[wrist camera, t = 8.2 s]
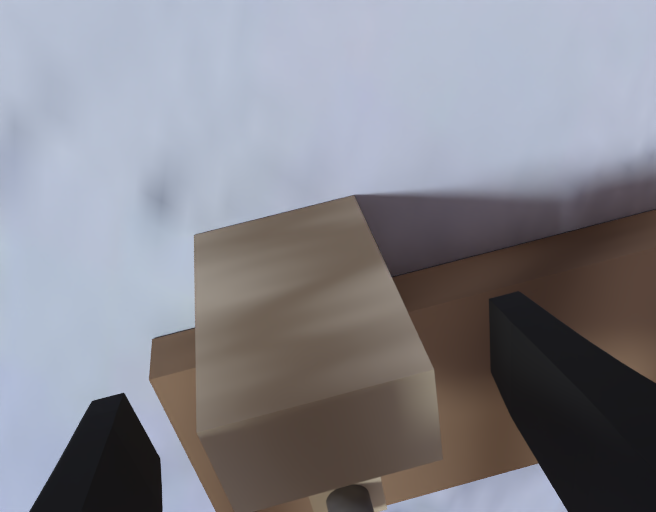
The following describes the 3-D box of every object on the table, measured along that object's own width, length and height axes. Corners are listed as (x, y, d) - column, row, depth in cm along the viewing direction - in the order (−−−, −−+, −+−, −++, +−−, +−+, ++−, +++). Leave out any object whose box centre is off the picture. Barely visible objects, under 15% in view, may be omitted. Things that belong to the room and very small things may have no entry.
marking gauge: (354, 195, 15) (434, 369, 10) (391, 416, 20) (457, 603, 15) (194, 234, 15) (196, 432, 10) (272, 448, 20) (300, 648, 15)
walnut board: (847, 160, 17) (898, 185, 16) (774, 357, 22) (810, 389, 21) (152, 339, 16) (148, 381, 15) (231, 506, 21) (234, 549, 20)
